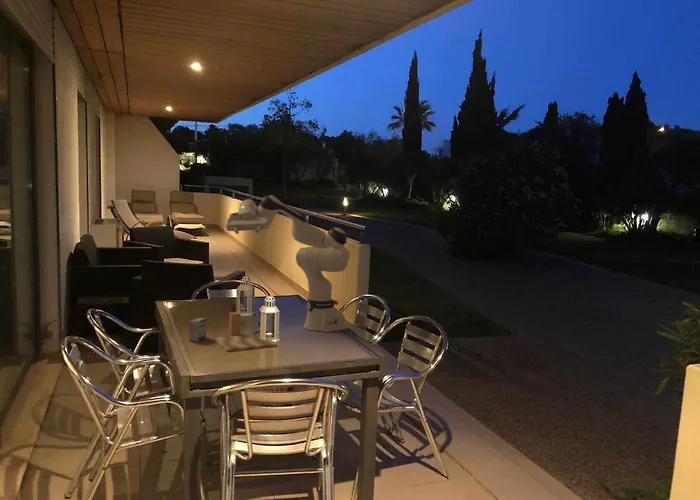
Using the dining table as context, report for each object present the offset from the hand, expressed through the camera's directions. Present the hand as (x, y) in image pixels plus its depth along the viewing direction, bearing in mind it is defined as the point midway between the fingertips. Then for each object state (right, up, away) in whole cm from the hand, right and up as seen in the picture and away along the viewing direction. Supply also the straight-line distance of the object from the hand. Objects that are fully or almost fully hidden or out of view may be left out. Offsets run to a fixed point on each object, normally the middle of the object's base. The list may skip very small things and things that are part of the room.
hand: (247, 232), depth 271 cm
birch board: (+4, -49, -28) cm, 56 cm away
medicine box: (-17, -47, -26) cm, 57 cm away
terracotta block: (-3, -47, -16) cm, 50 cm away
